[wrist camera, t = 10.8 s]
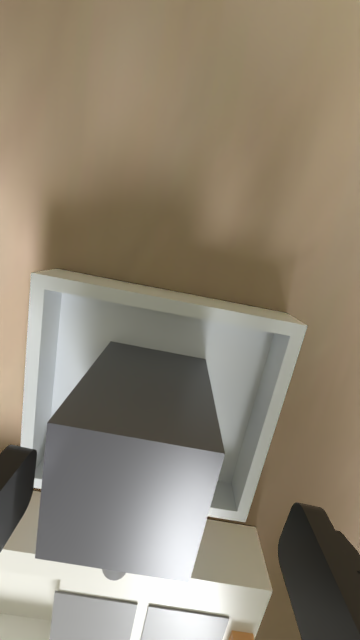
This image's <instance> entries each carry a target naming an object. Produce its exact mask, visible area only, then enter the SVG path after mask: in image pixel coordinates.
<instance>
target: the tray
mask: <svg viewBox="0 0 360 640" xmlns="http://www.w3.org/2000/svg"><path fill="white" fill-rule="evenodd" d="M307 327H308V326H307V325H306V324H304V323H303V322H301V321H299V320H298V319H296V318H295V317H293V316H291V315H290V314H288V313H285V312H280V311H274V310H269V309H264V308H259V307H254V306H249V305H243V304H238V303H233V302H228V301H223V300H218V299H212V298H207V297H202V296H197V295H192V294H186V293H181V292H176V291H171V290H166V289H161V288H155V287H150V286H145V285H140V284H135V283H130V282H124V281H119V280H114V279H109V278H104V277H98V276H93V275H88V274H83V273H78V272H73V271H67V270H62V269H51V270H44V271H38V272H32V273H31V282H30V298H29V315H28V331H27V347H26V364H25V380H24V396H23V412H22V429H21V445H20V447H25V448H30V449H35V450H36V451H37V460H36V469H35V478H34V487H33V488H38V489H41V486H42V475H43V464H44V453H45V442H46V431H47V422H48V421H49V420H50V418H51V417H52V416H53V415H54V413H55V412H56V411H57V409H58V408H59V407H60V406H61V404H62V403H63V402H64V400H65V399H66V398H67V397H68V395H69V394H70V393H71V391H72V390H73V389H74V388H75V386H76V385H77V384H78V382H79V381H80V380H81V379H82V377H83V376H84V375H85V373H86V372H87V371H88V370H89V368H90V367H91V366H92V365H93V363H94V362H95V361H96V359H97V358H98V357H99V356H100V354H101V353H102V352H103V350H104V349H105V348H106V347H107V345H108V344H109V343H110V341H112V342H118V343H123V344H128V345H134V346H139V347H144V348H150V349H155V350H160V351H165V352H171V353H176V354H181V355H187V356H192V357H197V358H203V359H206V363H207V368H208V373H209V378H210V383H211V388H212V392H213V397H214V402H215V407H216V412H217V417H218V422H219V427H220V431H221V436H222V441H223V446H224V451H225V456H224V460H223V463H222V467H221V470H220V474H219V478H218V481H217V485H216V488H215V492H214V496H213V499H212V503H211V506H210V510H209V514H208V516H209V517H215V518H221V519H227V520H234V521H240V522H246V519H247V516H248V513H249V510H250V507H251V503H252V500H253V497H254V494H255V491H256V488H257V485H258V481H259V478H260V475H261V472H262V469H263V466H264V462H265V459H266V456H267V453H268V450H269V447H270V443H271V440H272V437H273V434H274V431H275V428H276V425H277V421H278V418H279V415H280V412H281V409H282V406H283V402H284V399H285V396H286V393H287V390H288V387H289V383H290V380H291V377H292V374H293V371H294V368H295V364H296V361H297V358H298V355H299V352H300V349H301V346H302V342H303V339H304V336H305V333H306V330H307Z"/></svg>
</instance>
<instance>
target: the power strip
mask: <svg viewBox="0 0 360 640" xmlns="http://www.w3.org/2000/svg"><path fill="white" fill-rule="evenodd" d="M40 497H41V492H39V491H33V493H32V497H31V500H30V502H29V505H28V507H27V509H26V511H25V513H24V515H23V517H22V518H21V520H20V522H19V523H18V525H17V526H16V528H15V530H14V531H13V533H12V535H11V536H10V538H9V539H8V541H7V543H6V544H5V546H4V547H3V549H2V551H1V552H0V640H255V637H256V634H257V632H258V629H259V626H260V624H261V621H262V618H263V616H264V613H265V610H266V608H267V605H268V602H269V600H270V597H271V594H272V592H273V590H272V586H271V583H270V579H269V575H268V571H267V567H266V564H265V560H264V556H263V552H262V548H261V544H260V541H259V537H258V533H257V529H256V527H253V526H246V525H240V524H234V523H228V522H222V521H216V520H210V519H207V521H206V524H205V528H204V532H203V535H202V539H201V542H200V546H199V550H198V553H197V557H196V560H195V564H194V568H193V571H192V575H191V579H190V582H189V583H188V582H182V581H175V580H169V579H163V578H156V577H150V576H143V575H137V574H131V573H126V574H125V575H124V576H123V577H122V578H121V579H119V580H115V581H113V580H109V579H107V578H106V577H105V576H104V574H103V571H102V569H99V568H93V567H86V566H80V565H74V564H67V563H61V562H55V561H48V560H42V559H36V558H35V552H36V541H37V530H38V519H39V508H40Z"/></svg>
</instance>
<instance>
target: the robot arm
mask: <svg viewBox="0 0 360 640" xmlns="http://www.w3.org/2000/svg"><path fill="white" fill-rule="evenodd" d="M36 460H37V451H36V450H35V449H30V448H25V447H20V446H15V445H9V446H7V447H6V448H5V449H4V450H3V451H2V452H1V454H0V552H1V551H2V549H3V547H4V546H5V544H6V543H7V541H8V539H9V538H10V536H11V535H12V533H13V531H14V530H15V528H16V526H17V525H18V523H19V522H20V520H21V518H22V517H23V515H24V513H25V511H26V509H27V507H28V505H29V502H30V500H31V497H32V493H33V487H34V478H35V469H36ZM278 557H279V564H280V567H281V571H282V574H283V577H284V581H285V584H286V588H287V591H288V594H289V598H290V601H291V604H292V608H293V611H294V615H295V618H296V621H297V625H298V628H299V631H300V635H301V638H302V640H360V555H359V553H358V551H357V550H356V549H355V548H354V547H353V545H352V544H351V543H350V542H349V541H348V540H347V539H346V537H345V536H344V535H343V534H342V533H341V532H340V531H335V529H334V527H333V525H332V524H331V522H330V520H329V518H328V516H327V514H326V512H325V511H324V510H323V509H322V508H320V507H316V506H311V505H306V504H301V503H294V504H293V506H292V508H291V510H290V513H289V516H288V518H287V521H286V523H285V526H284V528H283V531H282V534H281V536H280V539H279V544H278Z"/></svg>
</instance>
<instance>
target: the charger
mask: <svg viewBox="0 0 360 640" xmlns="http://www.w3.org/2000/svg"><path fill="white" fill-rule="evenodd" d="M224 456H225V451H224V446H223V441H222V436H221V431H220V427H219V422H218V417H217V412H216V407H215V402H214V397H213V392H212V388H211V383H210V378H209V373H208V368H207V363H206V359H203V358H197V357H192V356H187V355H181V354H176V353H171V352H165V351H160V350H155V349H150V348H144V347H139V346H134V345H128V344H123V343H118V342H112V341H110V343H109V344H108V345H107V347H106V348H105V349H104V350H103V352H102V353H101V354H100V356H99V357H98V358H97V359H96V361H95V362H94V363H93V365H92V366H91V367H90V368H89V370H88V371H87V372H86V373H85V375H84V376H83V377H82V379H81V380H80V381H79V382H78V384H77V385H76V386H75V388H74V389H73V390H72V391H71V393H70V394H69V395H68V397H67V398H66V399H65V400H64V402H63V403H62V404H61V406H60V407H59V408H58V409H57V411H56V412H55V413H54V415H53V416H52V417H51V418H50V420H49V421H48V422H47V431H46V442H45V453H44V464H43V475H42V486H41V497H40V508H39V519H38V530H37V541H36V552H35V558H36V559H42V560H48V561H55V562H61V563H67V564H74V565H80V566H86V567H93V568H99V569H102V571H103V574H104V576H105V577H106V578H107V579H109V580H113V581H115V580H119V579H121V578H122V577H123V576H124V575H125V574H126V573H131V574H137V575H143V576H150V577H156V578H163V579H169V580H175V581H182V582H188V583H189V582H190V579H191V575H192V571H193V568H194V564H195V560H196V557H197V553H198V550H199V546H200V542H201V539H202V535H203V532H204V528H205V524H206V521H207V517H208V514H209V510H210V506H211V503H212V499H213V496H214V492H215V488H216V485H217V481H218V478H219V474H220V470H221V467H222V463H223V460H224Z"/></svg>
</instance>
